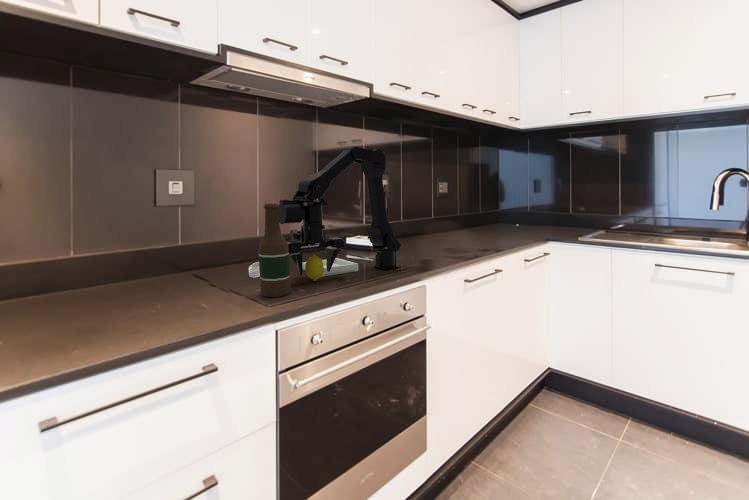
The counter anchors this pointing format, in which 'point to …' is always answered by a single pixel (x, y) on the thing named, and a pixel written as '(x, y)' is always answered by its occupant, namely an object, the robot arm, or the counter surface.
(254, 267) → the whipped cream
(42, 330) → the counter surface
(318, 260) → the lemon
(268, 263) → the beer bottle
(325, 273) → the tray
